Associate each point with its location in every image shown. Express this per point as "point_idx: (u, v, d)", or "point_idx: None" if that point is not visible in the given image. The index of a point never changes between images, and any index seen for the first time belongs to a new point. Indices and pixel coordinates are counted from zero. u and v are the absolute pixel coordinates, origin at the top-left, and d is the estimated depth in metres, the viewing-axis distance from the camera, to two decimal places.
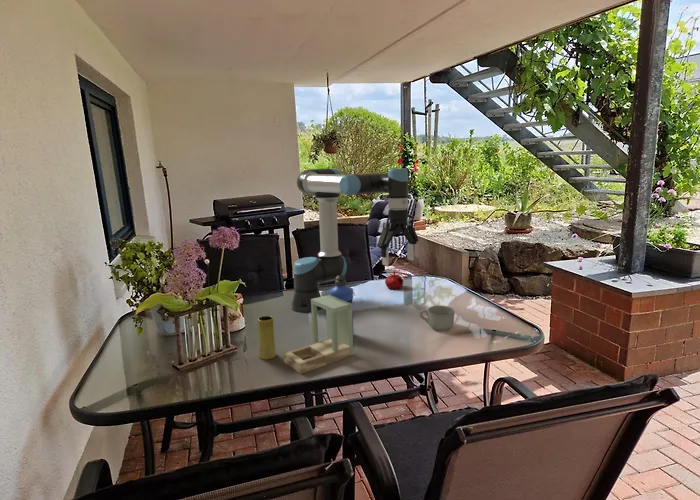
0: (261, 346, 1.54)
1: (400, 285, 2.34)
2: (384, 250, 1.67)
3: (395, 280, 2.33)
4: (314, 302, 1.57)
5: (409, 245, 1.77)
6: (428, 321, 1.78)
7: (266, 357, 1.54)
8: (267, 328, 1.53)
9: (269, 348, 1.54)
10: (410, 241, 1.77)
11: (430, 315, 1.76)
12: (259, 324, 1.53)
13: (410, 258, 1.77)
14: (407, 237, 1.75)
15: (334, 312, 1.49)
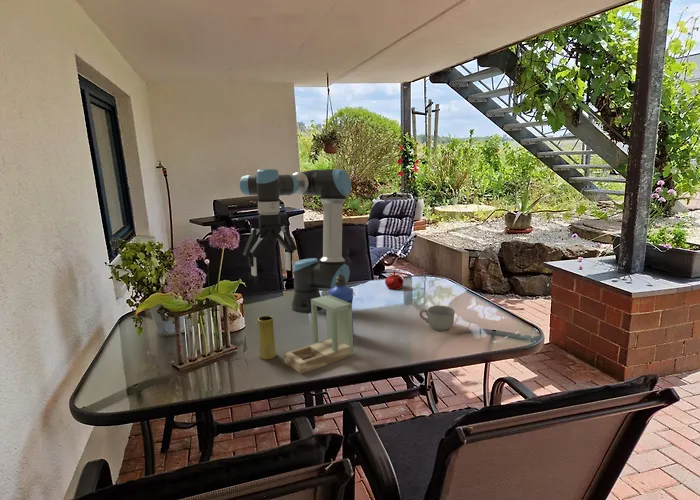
0: (261, 346, 1.54)
1: (400, 285, 2.34)
2: (251, 259, 1.52)
3: (395, 280, 2.33)
4: (314, 302, 1.57)
5: (286, 254, 1.61)
6: (428, 321, 1.78)
7: (266, 357, 1.54)
8: (267, 328, 1.53)
9: (269, 348, 1.54)
10: (287, 249, 1.61)
11: (430, 315, 1.76)
12: (259, 324, 1.53)
13: (287, 268, 1.61)
14: (283, 245, 1.59)
15: (334, 312, 1.49)
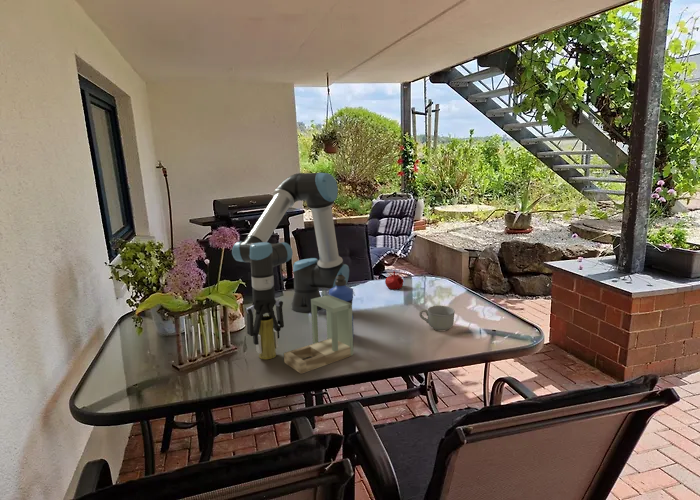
0: (261, 346, 1.54)
1: (400, 285, 2.34)
2: (255, 337, 1.52)
3: (395, 280, 2.33)
4: (314, 302, 1.57)
5: None
6: (428, 321, 1.78)
7: (266, 357, 1.54)
8: (267, 328, 1.53)
9: (269, 348, 1.54)
10: (274, 327, 1.58)
11: (430, 315, 1.76)
12: None
13: None
14: None
15: (334, 312, 1.49)
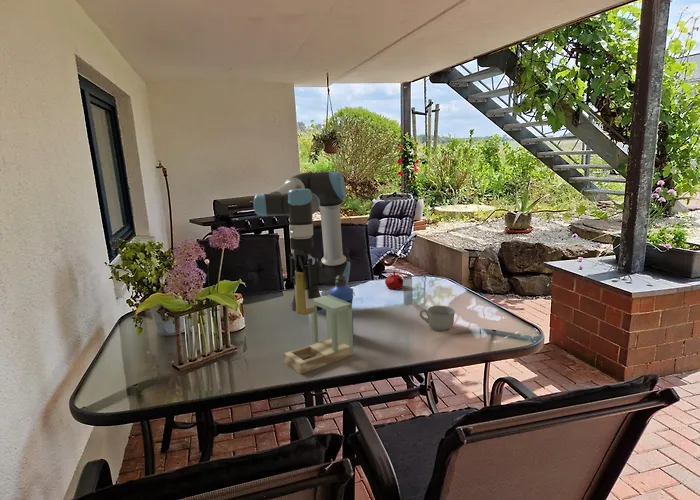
0: None
1: (400, 285, 2.34)
2: (295, 285, 1.49)
3: (395, 280, 2.33)
4: (314, 302, 1.57)
5: None
6: (428, 321, 1.78)
7: (296, 309, 1.47)
8: (296, 280, 1.44)
9: (297, 301, 1.45)
10: None
11: (430, 315, 1.76)
12: None
13: None
14: None
15: (334, 312, 1.49)
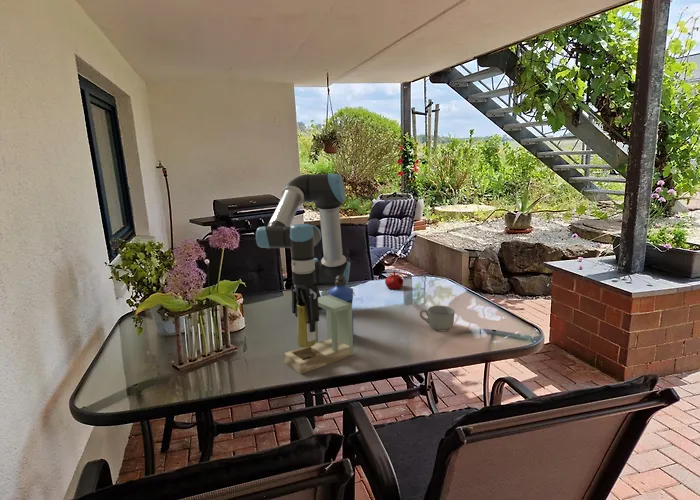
0: None
1: (400, 285, 2.34)
2: None
3: (395, 280, 2.33)
4: None
5: None
6: (428, 321, 1.78)
7: None
8: (297, 313, 1.46)
9: (298, 334, 1.47)
10: None
11: (430, 315, 1.76)
12: None
13: None
14: None
15: (334, 312, 1.49)
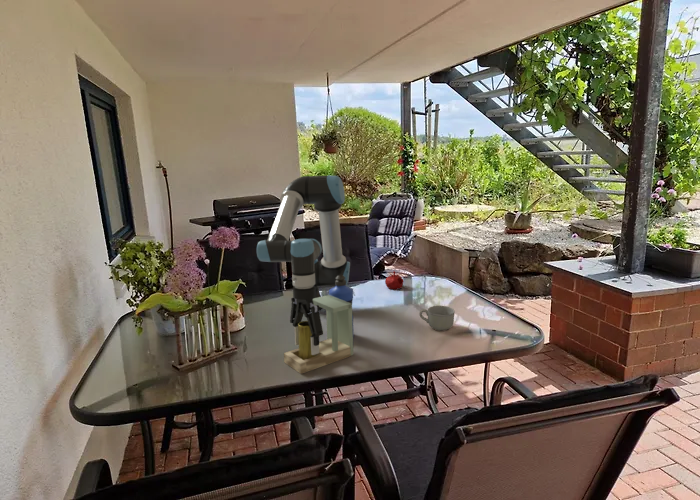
0: None
1: (400, 285, 2.34)
2: None
3: (395, 280, 2.33)
4: (314, 302, 1.57)
5: None
6: (428, 321, 1.78)
7: None
8: (298, 333, 1.48)
9: (299, 353, 1.49)
10: None
11: (430, 315, 1.76)
12: None
13: None
14: None
15: (334, 312, 1.49)
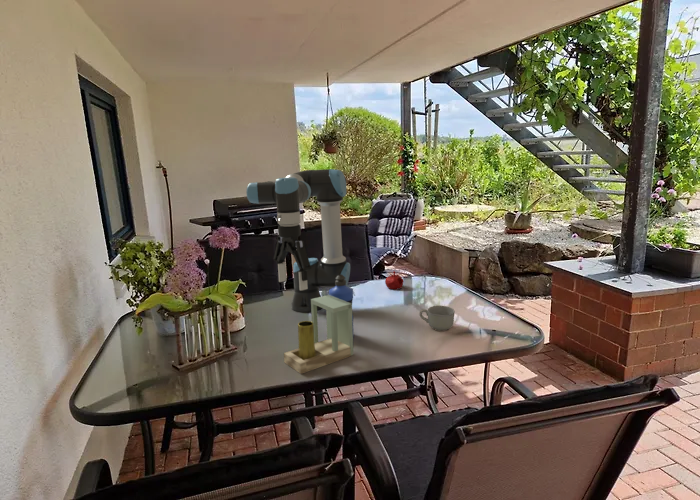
0: None
1: (400, 285, 2.34)
2: (278, 264, 1.56)
3: (395, 280, 2.33)
4: (314, 302, 1.57)
5: None
6: (428, 321, 1.78)
7: None
8: (298, 333, 1.48)
9: (299, 353, 1.49)
10: None
11: (430, 315, 1.76)
12: None
13: None
14: None
15: (334, 312, 1.49)
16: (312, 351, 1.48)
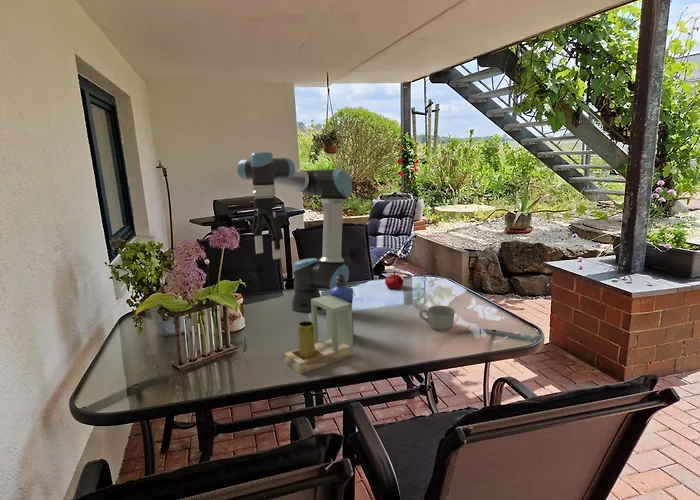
0: None
1: (400, 285, 2.34)
2: None
3: (395, 280, 2.33)
4: (314, 302, 1.57)
5: None
6: (428, 321, 1.78)
7: None
8: (299, 333, 1.48)
9: (299, 353, 1.49)
10: None
11: (430, 315, 1.76)
12: None
13: None
14: None
15: (334, 312, 1.49)
16: (312, 351, 1.48)
